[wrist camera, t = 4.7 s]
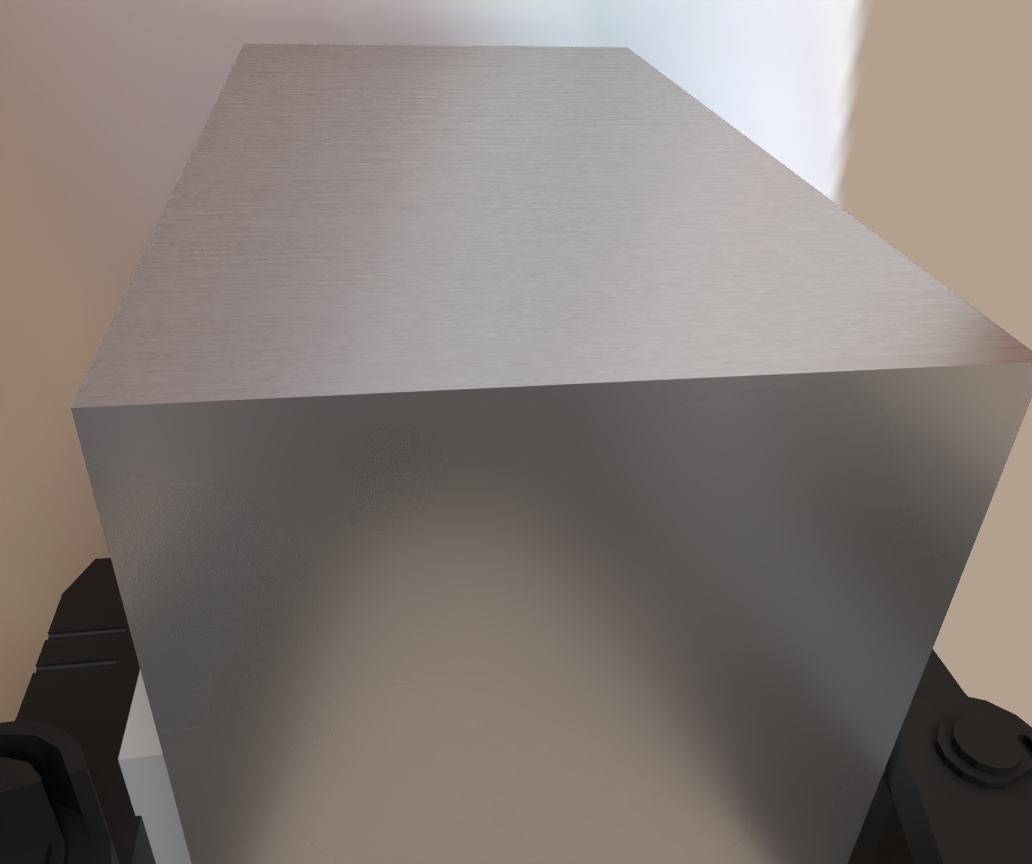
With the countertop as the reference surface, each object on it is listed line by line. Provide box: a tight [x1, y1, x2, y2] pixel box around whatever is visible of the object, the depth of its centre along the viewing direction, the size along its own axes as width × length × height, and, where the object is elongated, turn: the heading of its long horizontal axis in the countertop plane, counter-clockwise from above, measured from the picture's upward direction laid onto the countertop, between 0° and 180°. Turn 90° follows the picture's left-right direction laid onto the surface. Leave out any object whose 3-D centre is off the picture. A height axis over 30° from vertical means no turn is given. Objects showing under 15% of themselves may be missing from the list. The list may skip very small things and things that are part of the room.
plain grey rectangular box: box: [71, 44, 1032, 864], centre depth 10 cm, size 4×10×8 cm, turn 178°
